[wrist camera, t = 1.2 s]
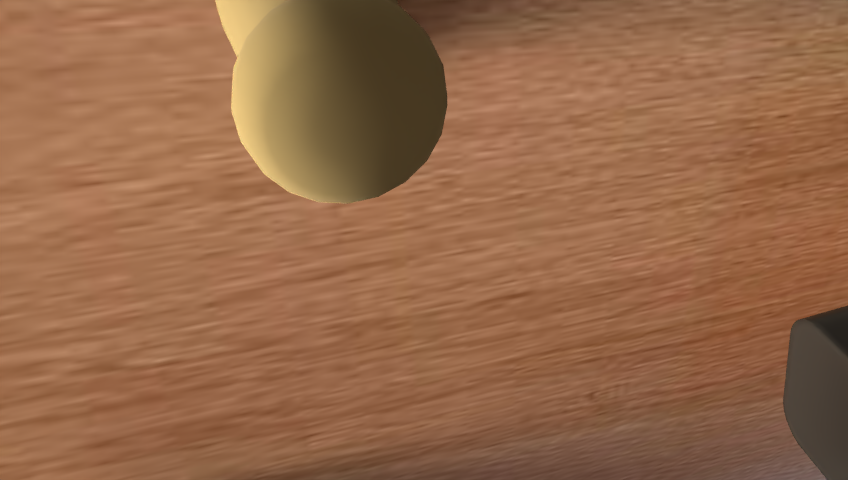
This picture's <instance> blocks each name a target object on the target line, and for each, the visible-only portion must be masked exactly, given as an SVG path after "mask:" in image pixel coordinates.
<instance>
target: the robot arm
mask: <svg viewBox="0 0 848 480" xmlns="http://www.w3.org/2000/svg"><path fill="white" fill-rule="evenodd" d="M783 405H784V412H785V416H786V420H787V422H788V425H789V427H790V430H791V432H792V434H793V436H794V438H795V439H796V441H797V442H798V444H799V445H800V447H801V448H802V449H803V450H804V452H805V453H806V454H807V455H808V457H809V458H810V459H811V460H812V461H813V463H814V464H815V465H816V466H817V468H818V469H819V470H820V471H821V473H822V474H823V475H824V476H825V477H826V479H827V480H848V306H845V307H841V308H838V309H834V310H831V311H827V312H824V313H821V314H817V315H814V316H810V317H807V318H803V319H800V320H797V321H796V322H795V323H794V324H793V326H792V328H791V333H790V342H789V351H788V361H787V370H786V379H785V388H784V397H783Z"/></svg>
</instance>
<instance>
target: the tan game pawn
mask: <svg viewBox="0 0 848 480" xmlns="http://www.w3.org/2000/svg"><path fill="white" fill-rule="evenodd" d="M215 2H216V5H217V9H218V12H219V16H220V19H221V23H222V26H223V28H224V30H225V33H226V35H227V37H228V39H229V41H230V43H231V45H232V47H233V49H234V51H235V53H236V55H237V61H236V63H235V66H234V68H233V83H232V102H231V111H232V114H233V117H234V121H235V124H236V128H237V131H238V134H239V138H240V141H241V143H242V144H243V145H244V147H245V148H246V150H247V151H248V152H249V154H250V155H251V157H252V158H253V159H254V161H255V162H256V164H257V165H258V166H259V168H260V169H261V170H262V172H263V173H264V174H265V175H266V176H267V177H269V178H270V179H272V180H273V181H274V182H276V183H277V184H278V185H280V186H281V187H283V188H284V189H285V190H287V191H288V192H290V193H293V194H296V195H299V196H302V197H305V198H307V199H310V200H313V201H316V202H327V203H353V202H357V201H362V200H366V199H370V198H375V197H379V196H380V195H382V194H384V193H386V192H388V191H390V190H392V189H393V188H395V187H397V186H399V185H401V184H403V183H404V182H406V181H407V180H408V179H409V178H410V177H411V176H412V175H413V174H414V173H415V172H416V171H417V170H418V169H419V168H420V167H421V166H422V165H423V164H424V163H425V162H426V161H427V160H428V158H429V156H430V154H431V152H432V151H433V149H434V147H435V145H436V143H437V142H438V140H439V138H440V136H441V134H442V129H443V124H444V119H445V114H446V109H447V91H446V83H445V75H444V67H443V64H442V62H441V60H440V58H439V56H438V54H437V52H436V50H435V48H434V46H433V44H432V42H431V40H430V38H429V36H428V34H427V33H426V32H425V30H424V29H423V28H422V27H421V26H420V25H419V24H418V23H417V22H416V21H415V20H414V19H413V18H412V17H411V16H410V15H409V14H408V13H407V12H406V11H404V10H403V9H402V8H401V7H400V6H399V5H398V2H397V0H215Z"/></svg>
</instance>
